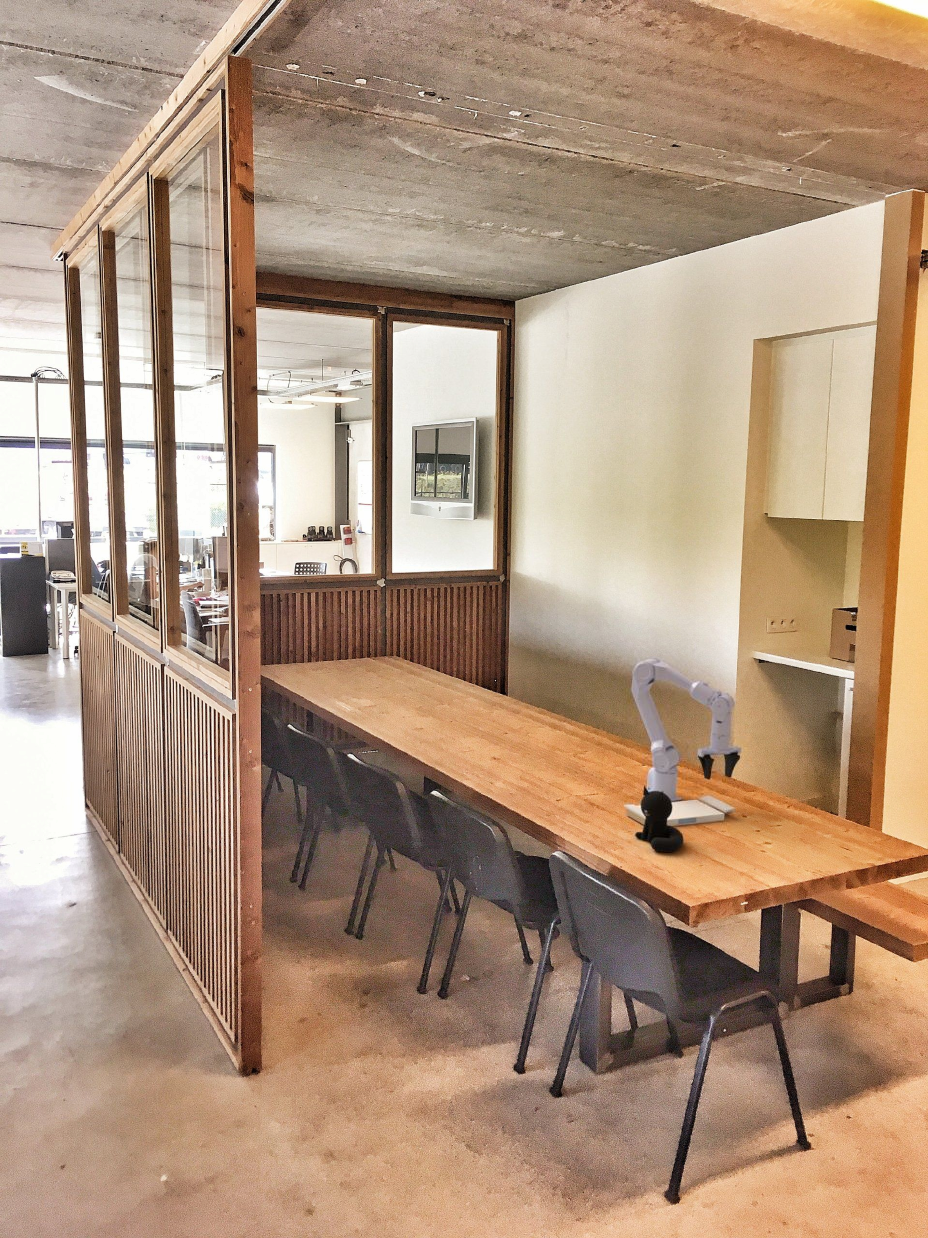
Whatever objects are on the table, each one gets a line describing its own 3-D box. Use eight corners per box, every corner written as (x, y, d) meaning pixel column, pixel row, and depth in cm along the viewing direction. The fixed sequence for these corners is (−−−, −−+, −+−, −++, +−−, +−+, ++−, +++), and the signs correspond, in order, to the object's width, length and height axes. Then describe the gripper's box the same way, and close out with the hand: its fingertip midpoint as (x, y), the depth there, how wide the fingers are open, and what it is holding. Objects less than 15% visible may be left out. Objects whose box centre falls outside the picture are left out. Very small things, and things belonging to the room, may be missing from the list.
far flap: (725, 810, 299) (725, 818, 299) (735, 808, 300) (735, 815, 300) (699, 797, 311) (699, 805, 311) (708, 795, 312) (709, 802, 312)
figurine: (621, 839, 279) (624, 786, 277) (657, 831, 287) (660, 779, 285) (663, 857, 266) (666, 802, 264) (699, 848, 274) (703, 794, 272)
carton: (634, 812, 303) (634, 806, 302) (696, 806, 311) (696, 799, 311) (660, 827, 290) (661, 820, 290) (724, 820, 298) (724, 814, 298)
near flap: (634, 804, 302) (633, 812, 302) (623, 804, 300) (623, 812, 301) (658, 818, 290) (657, 826, 290) (647, 818, 288) (647, 826, 289)
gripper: (708, 738, 301) (705, 783, 303) (748, 735, 306) (745, 779, 308) (694, 733, 307) (691, 776, 309) (734, 730, 313) (731, 773, 315)
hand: (717, 777), depth 309 cm, fingers open, 7 cm apart
